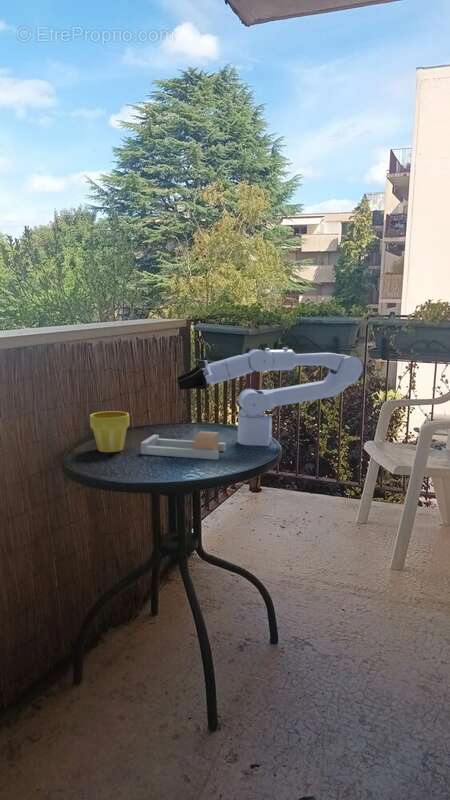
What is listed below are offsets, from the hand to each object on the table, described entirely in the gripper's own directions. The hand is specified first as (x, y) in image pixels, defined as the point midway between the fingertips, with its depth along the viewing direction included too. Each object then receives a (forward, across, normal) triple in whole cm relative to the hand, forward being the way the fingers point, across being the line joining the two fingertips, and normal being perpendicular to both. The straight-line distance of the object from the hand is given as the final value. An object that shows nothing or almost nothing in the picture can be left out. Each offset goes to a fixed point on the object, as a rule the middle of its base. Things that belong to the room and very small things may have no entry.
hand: (178, 383), depth 145 cm
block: (-2, +12, +18) cm, 21 cm away
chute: (+4, +10, +17) cm, 20 cm away
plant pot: (+23, +2, +12) cm, 26 cm away
